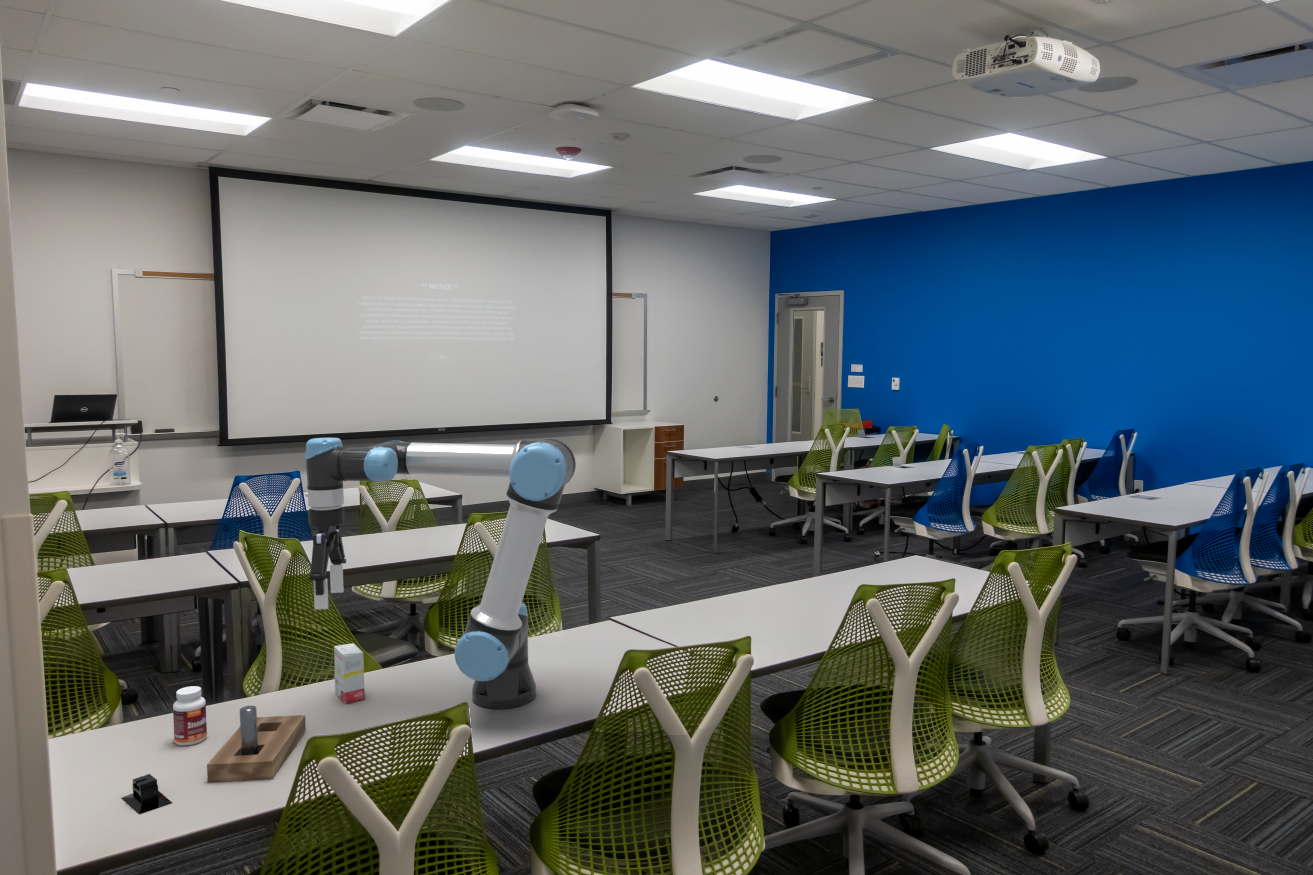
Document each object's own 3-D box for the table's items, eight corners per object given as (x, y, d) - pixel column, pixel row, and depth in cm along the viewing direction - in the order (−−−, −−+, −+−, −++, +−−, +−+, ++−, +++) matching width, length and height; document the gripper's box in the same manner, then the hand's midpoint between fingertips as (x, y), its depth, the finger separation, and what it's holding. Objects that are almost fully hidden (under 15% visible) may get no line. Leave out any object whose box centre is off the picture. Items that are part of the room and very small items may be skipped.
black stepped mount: (113, 799, 160) (111, 775, 160) (155, 784, 166) (154, 761, 165) (137, 822, 152) (135, 797, 152) (181, 806, 158) (180, 782, 157)
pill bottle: (190, 748, 180) (188, 697, 179) (167, 744, 182) (164, 693, 181) (214, 735, 186) (211, 686, 185) (191, 732, 188) (188, 683, 187)
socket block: (305, 730, 189) (305, 714, 188) (272, 778, 167) (272, 760, 167) (248, 733, 187) (247, 717, 187) (207, 781, 166) (206, 764, 165)
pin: (261, 762, 173) (258, 705, 172) (255, 769, 171) (253, 711, 169) (245, 763, 173) (242, 705, 172) (240, 770, 170) (237, 711, 169)
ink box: (365, 699, 206) (364, 651, 205) (344, 704, 203) (343, 655, 202) (355, 688, 213) (353, 641, 212) (334, 693, 210) (332, 645, 209)
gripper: (323, 498, 205) (326, 586, 207) (291, 517, 180) (295, 616, 182) (356, 498, 206) (359, 585, 208) (328, 516, 181) (332, 615, 183)
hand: (329, 600), depth 195 cm, fingers open, 13 cm apart
